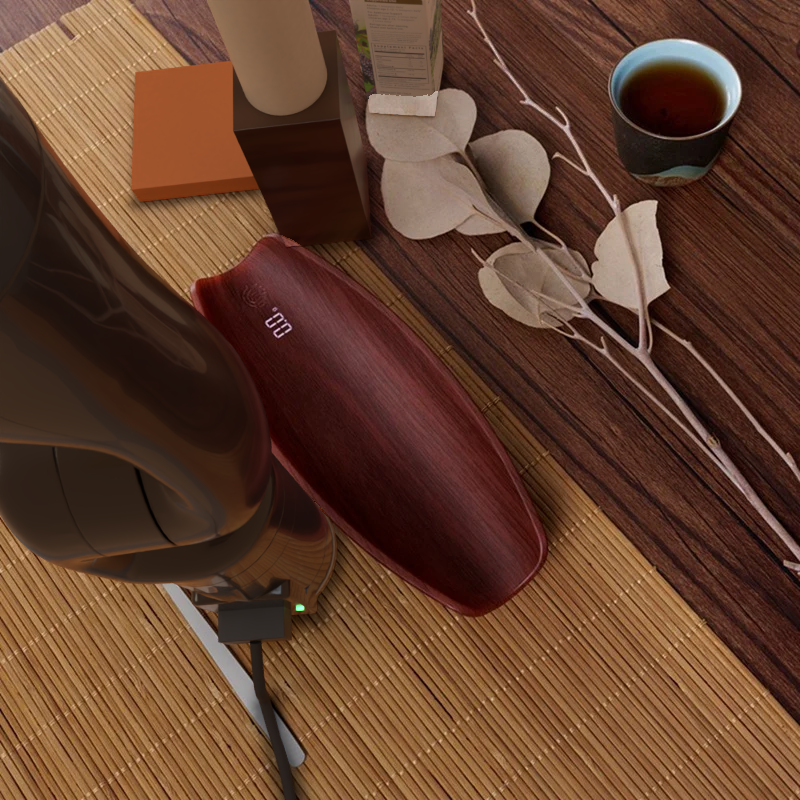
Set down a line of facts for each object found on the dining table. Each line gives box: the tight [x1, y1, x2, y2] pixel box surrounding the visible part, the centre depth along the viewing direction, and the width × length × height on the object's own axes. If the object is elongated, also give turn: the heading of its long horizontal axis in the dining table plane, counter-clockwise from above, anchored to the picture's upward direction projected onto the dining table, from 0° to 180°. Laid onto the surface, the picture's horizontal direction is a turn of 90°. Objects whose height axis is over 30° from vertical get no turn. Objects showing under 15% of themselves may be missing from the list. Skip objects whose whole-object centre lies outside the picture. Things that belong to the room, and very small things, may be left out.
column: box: [233, 29, 372, 247], centre depth 68 cm, size 7×7×16 cm
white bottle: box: [206, 0, 327, 116], centre depth 55 cm, size 6×6×12 cm
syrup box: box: [348, 0, 445, 103], centre depth 71 cm, size 6×6×14 cm
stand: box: [130, 60, 260, 203], centre depth 78 cm, size 12×12×2 cm
